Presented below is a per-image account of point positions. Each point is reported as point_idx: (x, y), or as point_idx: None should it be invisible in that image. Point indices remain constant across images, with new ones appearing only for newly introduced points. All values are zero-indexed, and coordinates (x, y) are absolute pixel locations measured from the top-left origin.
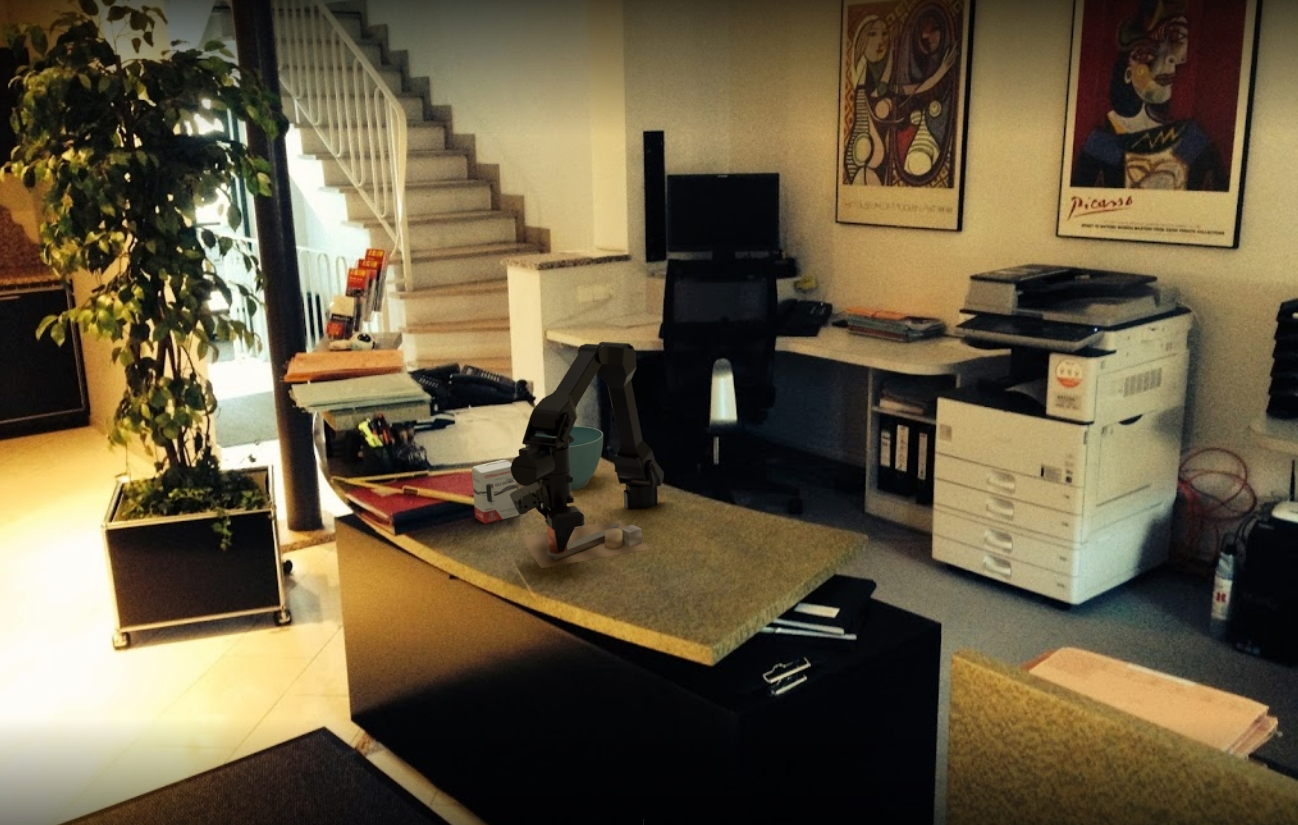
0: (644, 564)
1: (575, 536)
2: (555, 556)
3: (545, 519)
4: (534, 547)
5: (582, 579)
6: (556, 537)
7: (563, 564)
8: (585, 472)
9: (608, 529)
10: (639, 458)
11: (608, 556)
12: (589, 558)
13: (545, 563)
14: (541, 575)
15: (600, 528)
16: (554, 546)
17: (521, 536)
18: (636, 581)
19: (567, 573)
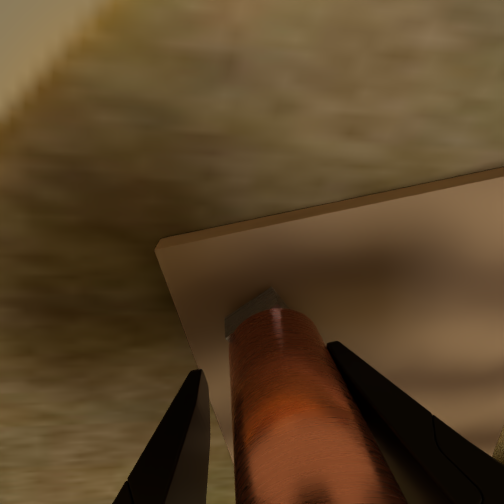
0: None
1: (448, 369)
2: (227, 327)
3: (486, 481)
4: (428, 225)
5: (90, 376)
6: (121, 493)
7: (187, 338)
8: None
9: None
10: None
11: (230, 454)
12: (226, 412)
13: (212, 270)
14: (145, 237)
15: (466, 426)
16: (235, 366)
17: None
18: (70, 490)
19: (155, 332)
